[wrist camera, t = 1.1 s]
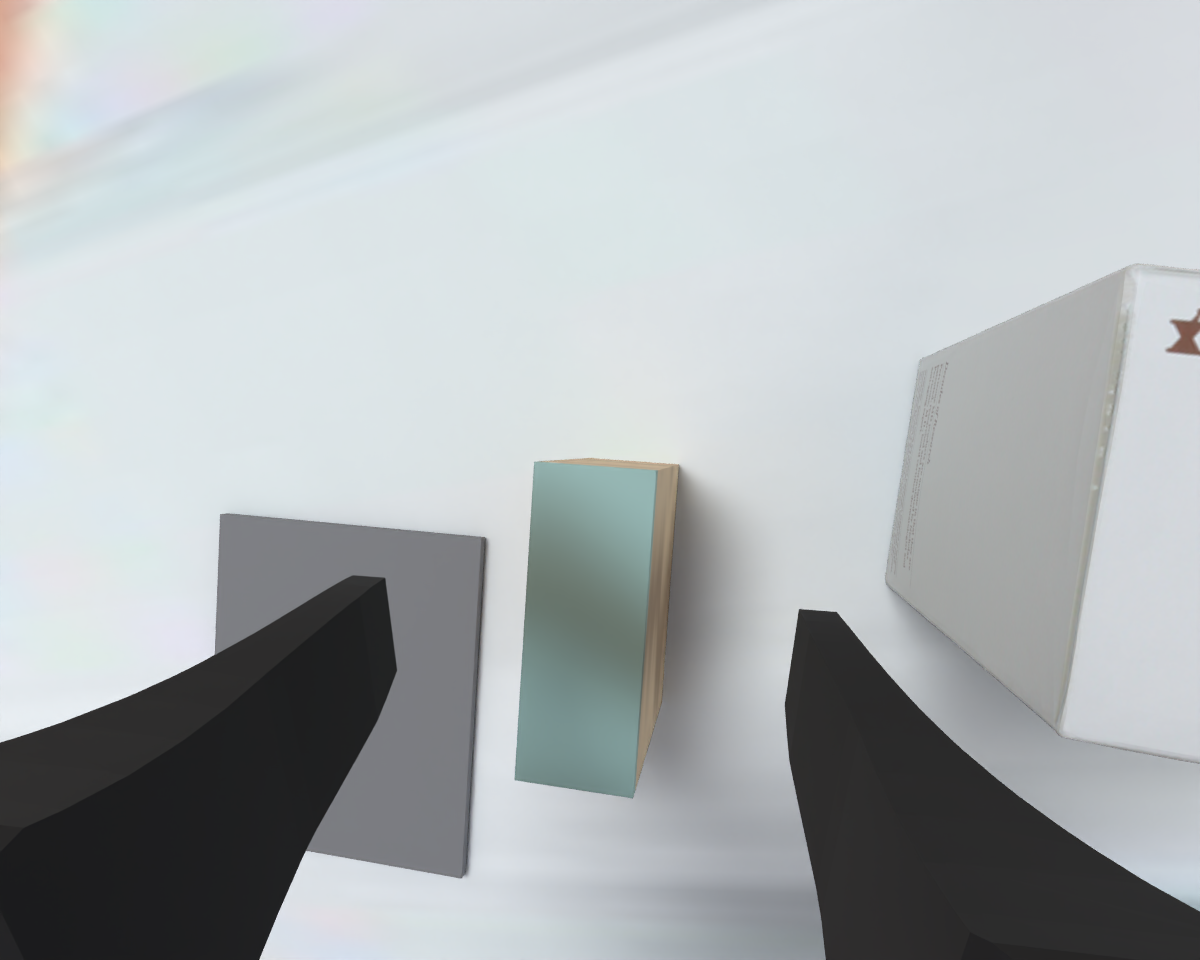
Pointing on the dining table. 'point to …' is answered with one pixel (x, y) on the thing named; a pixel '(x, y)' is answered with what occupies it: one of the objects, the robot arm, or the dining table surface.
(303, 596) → the mat
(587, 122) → the dining table surface
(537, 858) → the dining table surface
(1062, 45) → the dining table surface
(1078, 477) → the supplement box
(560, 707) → the slab
